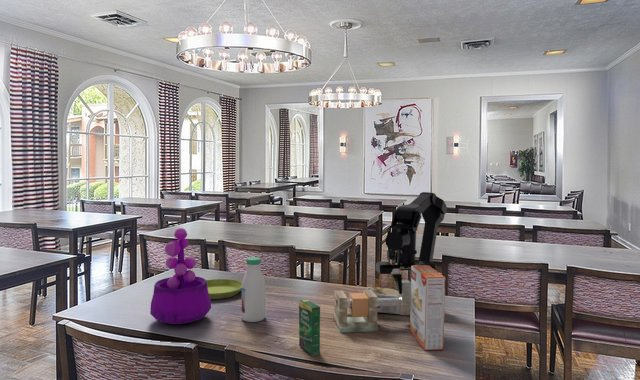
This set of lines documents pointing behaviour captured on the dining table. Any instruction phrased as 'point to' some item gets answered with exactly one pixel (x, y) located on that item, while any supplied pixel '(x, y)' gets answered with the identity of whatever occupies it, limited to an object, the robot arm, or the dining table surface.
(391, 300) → the shaft
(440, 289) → the cracker box
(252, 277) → the milk bottle
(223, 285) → the saucer
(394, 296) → the coffee box
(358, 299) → the block
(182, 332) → the dining table surface
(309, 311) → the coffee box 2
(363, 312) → the block
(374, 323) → the frame
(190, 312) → the decorative plant
